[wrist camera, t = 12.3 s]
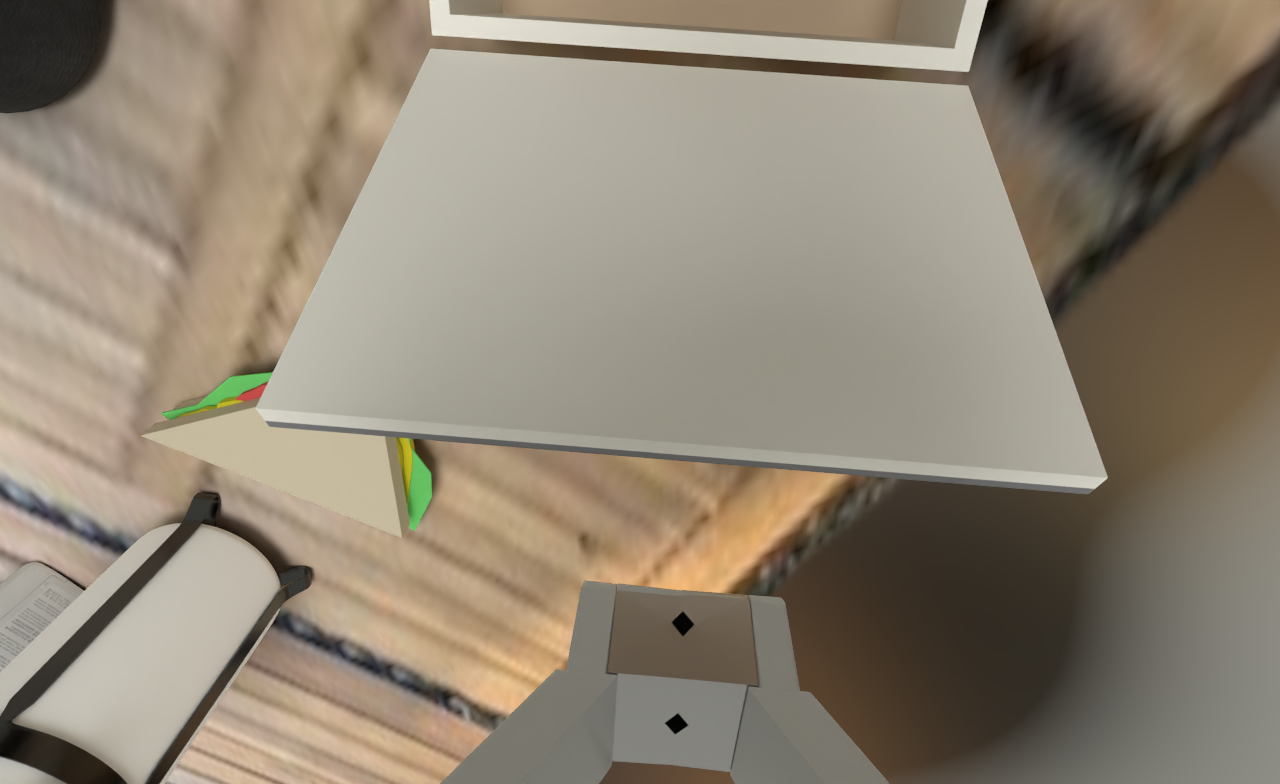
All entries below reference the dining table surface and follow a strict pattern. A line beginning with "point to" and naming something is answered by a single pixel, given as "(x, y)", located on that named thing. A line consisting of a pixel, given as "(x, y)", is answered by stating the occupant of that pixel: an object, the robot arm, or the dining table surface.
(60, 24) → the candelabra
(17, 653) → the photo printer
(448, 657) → the dining table surface
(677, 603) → the robot arm
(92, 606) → the coffee press
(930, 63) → the carton
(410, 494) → the sandwich
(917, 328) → the lid flap
